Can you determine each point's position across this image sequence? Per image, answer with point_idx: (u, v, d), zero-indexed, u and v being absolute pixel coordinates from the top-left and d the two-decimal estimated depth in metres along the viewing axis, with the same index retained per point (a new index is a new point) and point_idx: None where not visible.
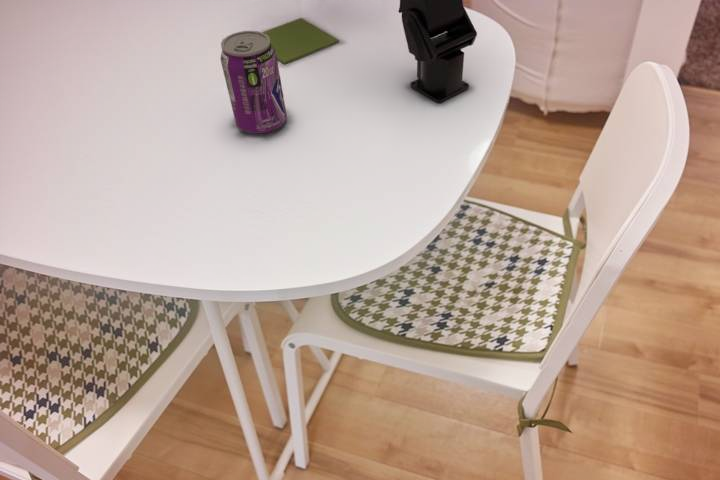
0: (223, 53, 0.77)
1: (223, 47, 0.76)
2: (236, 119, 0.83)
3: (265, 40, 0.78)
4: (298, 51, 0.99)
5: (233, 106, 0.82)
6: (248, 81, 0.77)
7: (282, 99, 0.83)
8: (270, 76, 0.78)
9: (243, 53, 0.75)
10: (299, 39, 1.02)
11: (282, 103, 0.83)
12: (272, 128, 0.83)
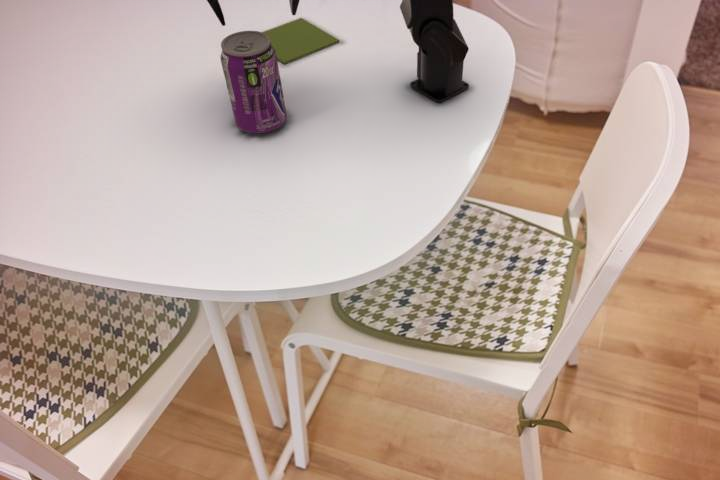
0: (223, 53, 0.77)
1: (223, 47, 0.76)
2: (236, 119, 0.83)
3: (265, 40, 0.78)
4: (298, 51, 0.99)
5: (233, 106, 0.82)
6: (248, 81, 0.77)
7: (282, 99, 0.83)
8: (270, 76, 0.78)
9: (243, 53, 0.75)
10: (299, 39, 1.02)
11: (282, 103, 0.83)
12: (272, 128, 0.83)
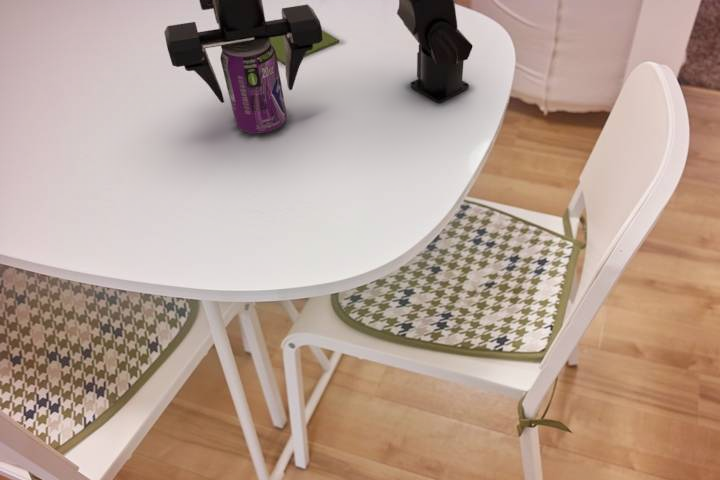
0: (223, 53, 0.77)
1: (223, 47, 0.76)
2: (236, 119, 0.83)
3: (265, 40, 0.78)
4: None
5: (233, 106, 0.82)
6: (248, 81, 0.77)
7: (282, 99, 0.83)
8: (270, 76, 0.78)
9: (243, 53, 0.75)
10: None
11: (282, 103, 0.83)
12: (272, 128, 0.83)
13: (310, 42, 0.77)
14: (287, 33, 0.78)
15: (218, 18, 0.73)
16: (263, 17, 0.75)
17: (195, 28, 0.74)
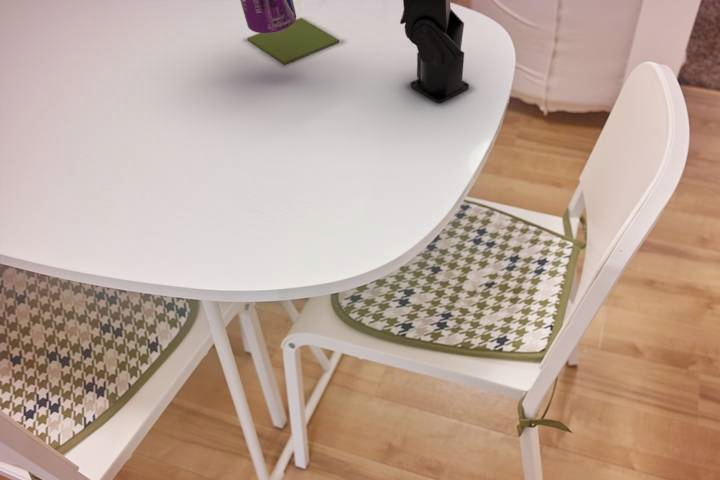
0: None
1: None
2: (248, 21, 0.86)
3: None
4: (298, 51, 0.99)
5: (244, 7, 0.84)
6: None
7: None
8: None
9: None
10: (299, 39, 1.02)
11: (291, 2, 0.85)
12: (283, 27, 0.86)
13: None
14: None
15: None
16: None
17: None
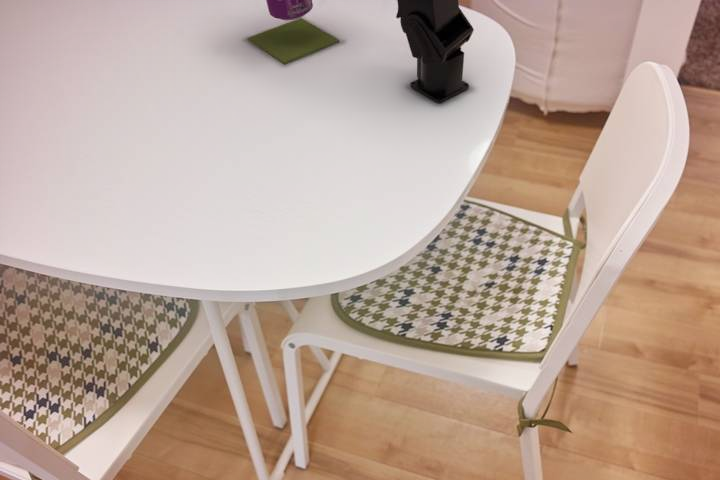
0: None
1: None
2: (270, 8, 0.96)
3: None
4: (298, 51, 0.99)
5: None
6: None
7: None
8: None
9: None
10: (299, 39, 1.02)
11: None
12: (301, 14, 0.96)
13: None
14: None
15: None
16: None
17: None
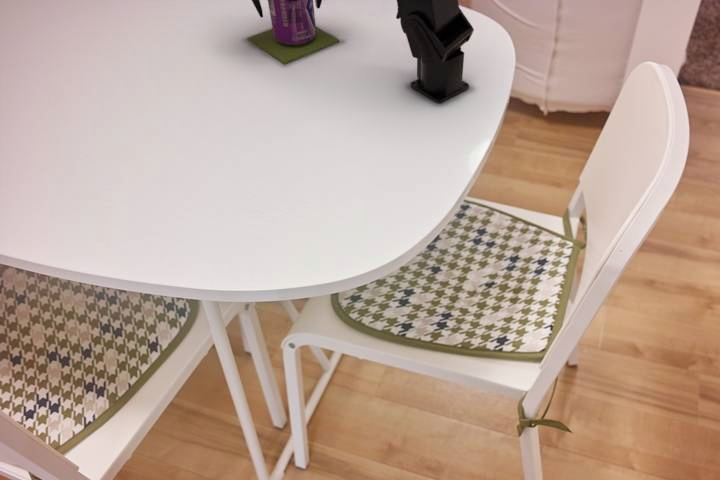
0: None
1: None
2: (275, 32, 0.99)
3: None
4: (298, 51, 0.99)
5: (273, 21, 0.98)
6: None
7: (313, 16, 0.99)
8: None
9: None
10: None
11: (313, 19, 0.99)
12: (305, 40, 0.99)
13: None
14: None
15: None
16: None
17: None
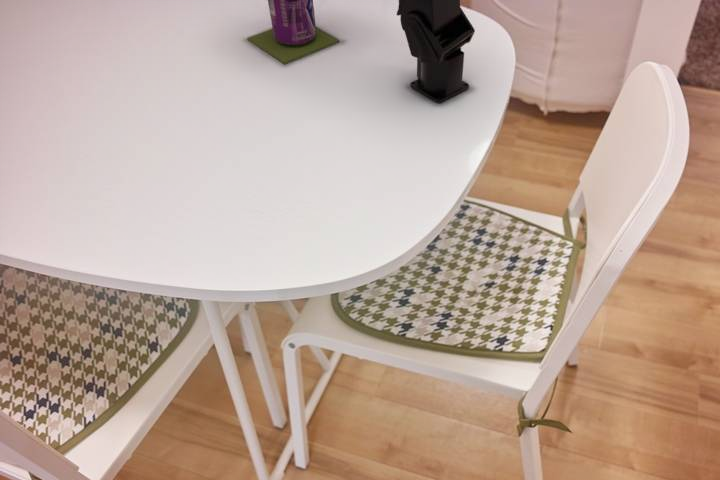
0: None
1: None
2: (275, 33, 0.99)
3: None
4: (298, 51, 0.99)
5: (273, 20, 0.98)
6: None
7: (313, 16, 0.99)
8: None
9: None
10: None
11: (313, 19, 0.99)
12: (305, 40, 0.99)
13: None
14: None
15: None
16: None
17: None
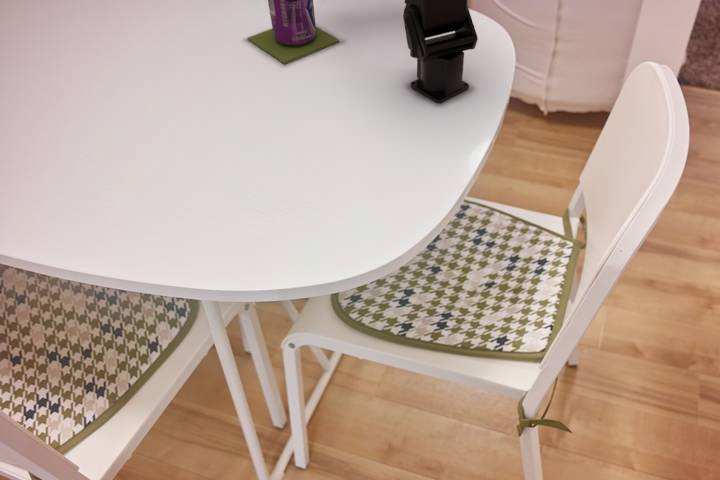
0: None
1: None
2: (275, 33, 0.99)
3: None
4: (298, 51, 0.99)
5: (273, 20, 0.98)
6: None
7: (313, 16, 0.99)
8: None
9: None
10: None
11: (313, 19, 0.99)
12: (305, 40, 0.99)
13: None
14: None
15: None
16: None
17: None
